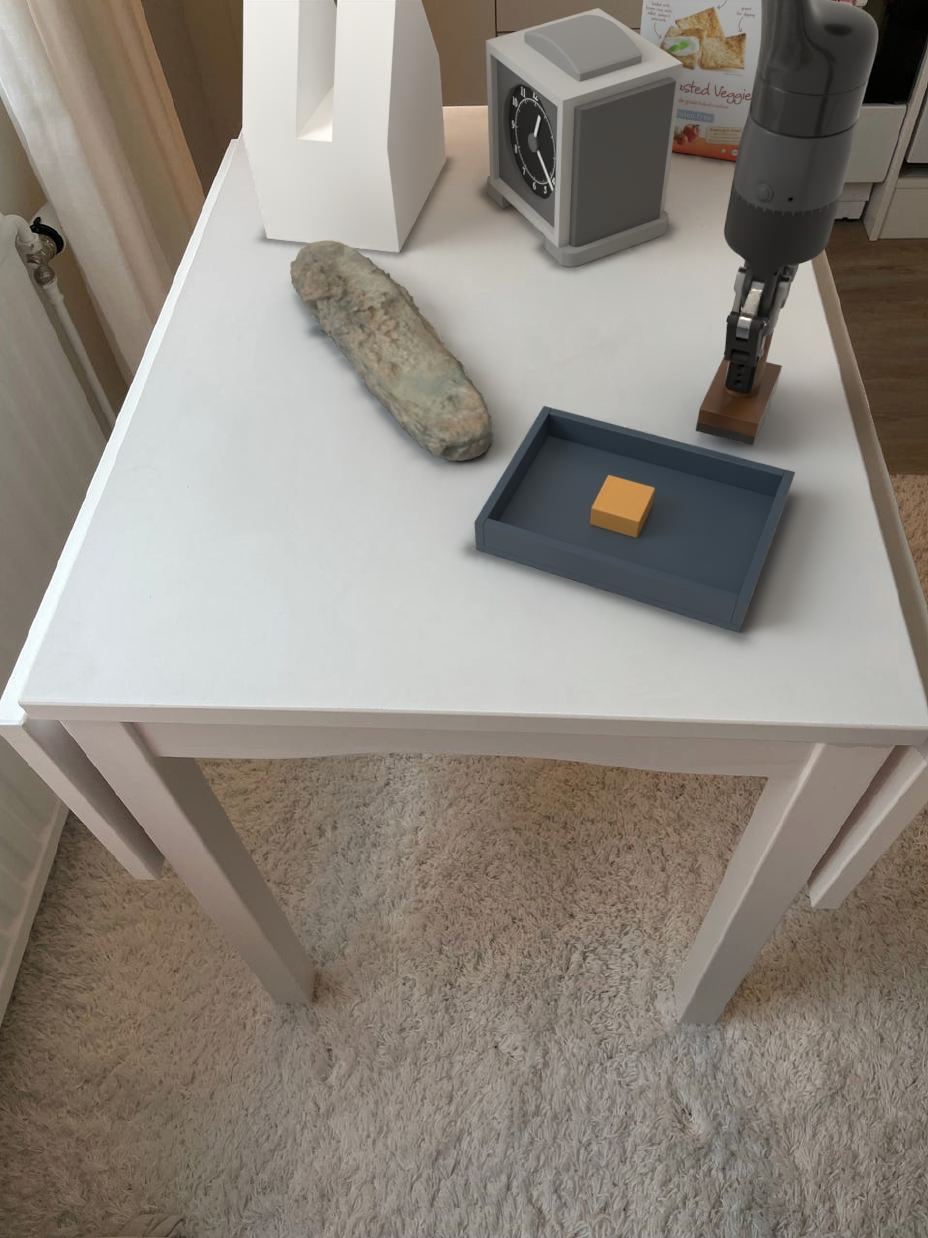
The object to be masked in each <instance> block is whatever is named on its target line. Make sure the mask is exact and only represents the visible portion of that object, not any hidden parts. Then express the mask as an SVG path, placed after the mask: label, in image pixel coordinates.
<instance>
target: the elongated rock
mask: <svg viewBox="0 0 928 1238" xmlns="http://www.w3.org/2000/svg"><path fill="white" fill-rule="evenodd" d="M289 274H290V279H291V280H290V281H291V282H290V283H291V285H292V287H293V289H294V290H295V292H296V293H297V294H298V295H299V297H300V298H301V299H300V300H301V303H302V304H303V305H304V306H305V307H306V309H307V310H308V315H309V316H313V317H314V319H315V320H316V322H317V323H319V326H318V330H319V331H323V332H324V333H325V335H327V337H328V338H330V339H333V343H334V344H335V346H336V347H337V348H338V349H339V350H340V352H341V353H342V354H343V356H344V357H345V358H347V359H348V361H350V362H351V364H352V365H353V367H354V369H355V371H356V373H357V374H358V376H359V377H360V378H361V379H362V380H364V383H365V384H366V388H367V391H368V392H370V394H372V395H373V396H375V398H376V399H377V400H378V401H379V402H380V404H381V405H382V406H383V407H385V408H386V409H387V410H388V412H389V413H391V414H392V416H393V417H394V418H395V420H396V422H397V423H399V425H400V427H402V430H403V431H406V432H408V435H409V436H410V437H411V438H412V439H413V440H416V442H417V443H418V444H419V445H420V447H421V449H426V450H429V451H430V452H431V454H432V456H433V457H435V458H436V457H441V458H443V459H445V460H447V461H453V462H455V461H460V462H461V461H468V460H472V459H474V458H476V457H480V456H481V455H482V454H484V453H486V452H487V451H488V449H489V446H490V445H491V444H492V440H493V437H494V432H493V423H492V415H491V413H490V411H489V409H488V404H487V402H486V400H485V399H484V398H485V397H484V396H483V393H482V392H481V391H480V390H479V389H478V388H477V387H476V385H474V383H473V380H472V379H470V378H469V376H468V375H467V374H466V372H465V369H464V365H463V363H462V362H461V361H460V360H459V359H457V357H456V356H454V354H452V353H451V351H450V349H448V348H447V347H446V345H445V344H444V342H443V341H442V339H441V338H440V337H439V334H438V333H437V332H436V331H435V329H434V327H433V325H432V324H431V323H430V322H429V321H428V320H427V319H426V318H425V317H424V316H423V314H422V313H421V312H420V307H418V306H417V305H416V303H415V302H414V296H413V295H411V294H410V293H409V290H407V289H406V288H405V287H404V286H402V285H401V284H400V283H397V282H395V280H394V279H393V278H392V277H391V275H390V272H386V271H385V270H384V269H382V268H379V266H377V265H376V264H375V263H374V262H373V261H372V259H371V258H370V257H368V256H365V255H364V254H361V253H360V252H359V251H358V250H356V248H351V247H349V246H347V245H345V244H343V243H341V242H336V241H332V240H331V241H329V240H326V241H316V242H313V243H306V244H305V245H304V246H303V247H301V249H300V250H299V251H298V252H297V255H296V257H295V259H294V260H293V261H291V262H290V270H289Z"/></svg>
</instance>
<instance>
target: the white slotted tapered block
mask: <svg viewBox="0 0 928 1238" xmlns="http://www.w3.org/2000/svg"><path fill="white" fill-rule="evenodd" d="M242 3H243V8H242V9H243V10H242V16H243V17H242V20H243V21H242V135H241V136H242V138H243V142H244V147H245V151H246V156H247V159H248V164H249V168H250V172H251V176H252V181H253V184H254V185H253V186H254V189H255V193H256V194H255V195H256V197H257V202H258V206H259V210H260V215H261V220H262V223H263V227H264V233H265V236H266V239H268V240H276V241H278V240H279V241H287V242H296V243H306V244H311V243H313V242H316V241H326V240H329V241H331V240H332V241H336V242H341V243H343V244H345V245H347V246H349V247H350V248H353V249H361V250H368V251H369V250H370V251H380V252H390V253H397V254H400V252H401V250H402V248H403V247H404V244H405V242H406V241H407V238H408V236H409V234H410V232H411V230H412V229H413V227H414V224H415V223H416V221H417V219H418V217H419V215H420V214H421V211H422V210H423V208H424V205H425V204H426V201H427V199H428V197H429V196H430V193H431V192H432V190H433V187H434V186H435V184H436V182H437V180H438V178H439V176H440V174H441V172H442V170H443V168H444V166H445V164H446V162H447V153H446V151H447V150H446V135H445V122H444V120H445V119H444V107H443V92H442V91H443V90H442V77H441V64H440V63H441V61H440V56H439V52H438V48H437V45H436V42H435V39H434V36H433V32H432V30H431V27H430V24H429V20H428V16H427V13H426V11H425V7H424V4H423V1H422V0H337V1H336V3H335V1H334V0H243V2H242Z"/></svg>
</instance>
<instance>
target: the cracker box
mask: <svg viewBox="0 0 928 1238" xmlns="http://www.w3.org/2000/svg"><path fill="white" fill-rule="evenodd" d="M640 20H641V21H640V31H639V35H640V36H642V37H644V38H645V39H647V40H648V41H650V42H651V43H653V44H654V45H656V46H657V47H659V48H660V49H662V50H663V51H665V52H667V53H668V54H670V55H671V56H673V57H674V58H676V59H677V60H679V61H680V62H682V63H683V66H682V74H681V82H680V90H679V98H678V106H677V114H676V122H675V130H674V138H673V146H672V152H676V153H683V154H689V155H695V156H702V157H708V158H714V159H720V160H727V161H733V162H736V159H737V153H738V148H739V143H740V139H741V136H742V132H743V129H744V126H745V123H746V120H747V116H748V112H749V108H750V102H751V97H752V91H753V85H754V80H755V74H756V69H757V63H758V57H759V50H760V42H761V0H642V10H641V19H640Z"/></svg>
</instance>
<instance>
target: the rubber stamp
mask: <svg viewBox="0 0 928 1238" xmlns="http://www.w3.org/2000/svg"><path fill="white" fill-rule="evenodd" d="M774 331H775V329H774V330H773V332H772V334H770V335H768V336H766V340H765V344H764V347H763V350H764V353H763V356H761V357H760V360H759V364H758V368H757V372H756V377H755V381H754V385H753V388H752V390H751V392H750V393H748V394H743V393H739V392H735V391H731V390H728V389H727V388H726V387H725V382H726V377H727V372H728V367H729V363H730V361H726V360H724V356H723V358H722V359H721V362H720V364H719V366H718V368H717V370H716V372H715V375H714V377H713V379H712V381H711V383H710V385H709V388H708V390H707V392H706V394H705V396H704V398H703V400H702V403H701V405H700V407H699V408H698V415H697V416H698V417H697V421H696V426H695V432H698V433H701V434H706V435H708V436H709V435H710V436H713V437H716V438H717V437H718V438H720V439H721V438H722V439H725V440H729V441H734V442H737V443H740V444H745V445H749V446H754V444H755V442H756V440H757V438H758V435H759V432H760V431H761V427H762V425H763V422H764V420H765V417H766V415H767V412H768V410H769V408H770V405H771V403H772V400H773V398H774V395H775V394H776V393H775V392H776V391H777V388H778V383H779V380H780V377H781V372H782V369H783V365H782V364H777V363H773V362H768V361H767V360H768V357H769V352H770V348H771V346H772V345H771V344H772V340H773V336H774V333H775V332H774Z"/></svg>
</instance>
